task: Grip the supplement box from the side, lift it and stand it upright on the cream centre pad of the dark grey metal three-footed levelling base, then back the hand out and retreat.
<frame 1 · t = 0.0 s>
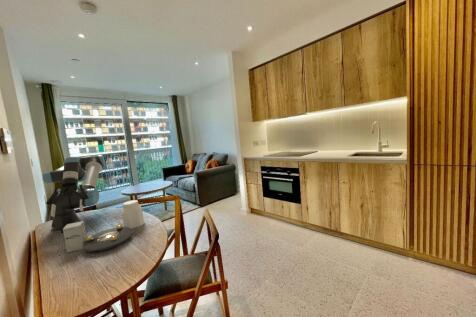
hand: (67, 213, 120), 15 cm above the table, tool tilted 35°, fingers open, 13 cm apart
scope: (71, 237, 124), on the table
jar: (134, 225, 132), on the table
levelling base: (109, 242, 112), on the table
supplement box: (78, 248, 110), on the table
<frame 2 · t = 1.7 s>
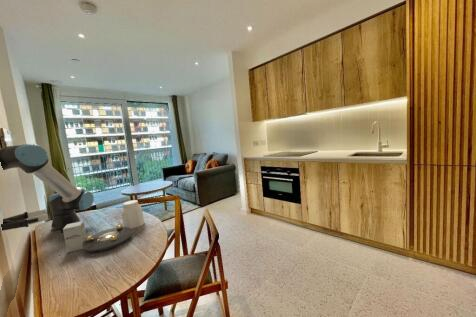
hand: (47, 214, 101), 21 cm above the table, tool horizontal, fingers open, 13 cm apart
nothing on the table moved.
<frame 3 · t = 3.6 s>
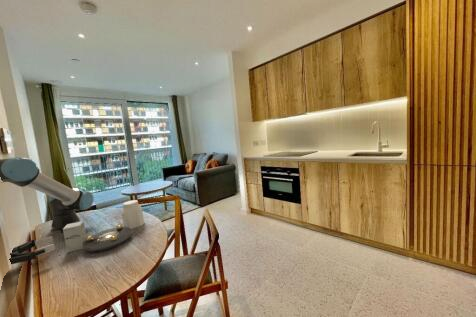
hand: (53, 242, 103), 7 cm above the table, tool horizontal, fingers open, 13 cm apart
nothing on the table moved.
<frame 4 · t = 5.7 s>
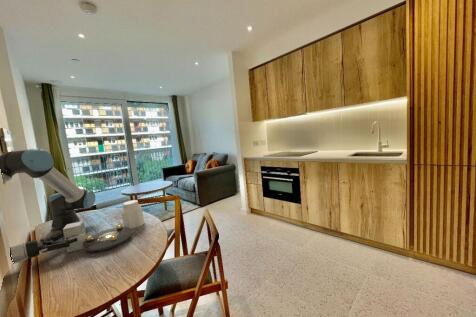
hand: (83, 232, 111), 7 cm above the table, tool horizontal, fingers open, 13 cm apart
nothing on the table moved.
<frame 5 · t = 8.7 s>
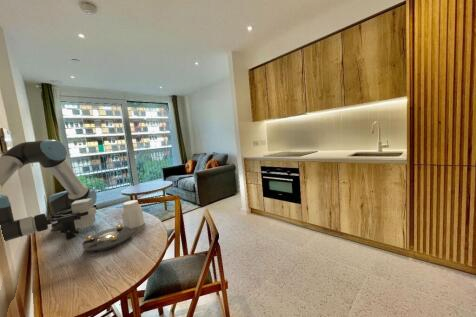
hand: (94, 208, 110), 19 cm above the table, tool horizontal, fingers closed on supplement box, 9 cm apart
supplement box: (86, 224, 108), point 12 cm above the table, touching gripper
everything else where it was.
when the fingers open (12 cm above the table, at t = 11.0 s): supplement box drops 1 cm, resting on levelling base.
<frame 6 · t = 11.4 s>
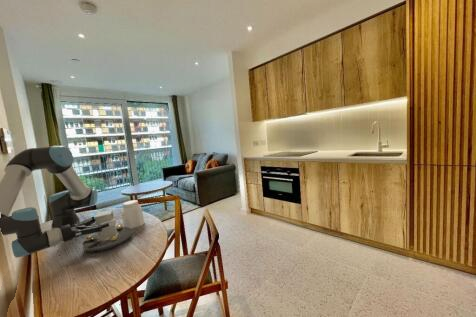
hand: (112, 218, 112), 12 cm above the table, tool horizontal, fingers open, 13 cm apart
supplement box: (108, 236, 111), point 3 cm above the table, touching levelling base
everything else where it was.
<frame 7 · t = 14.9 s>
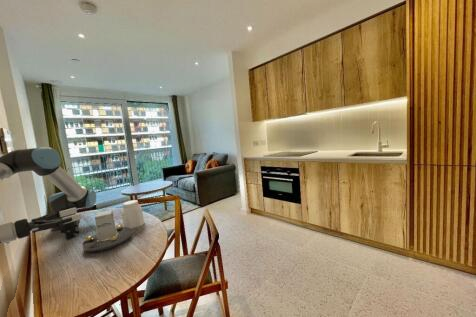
hand: (78, 212, 102), 20 cm above the table, tool horizontal, fingers open, 13 cm apart
nothing on the table moved.
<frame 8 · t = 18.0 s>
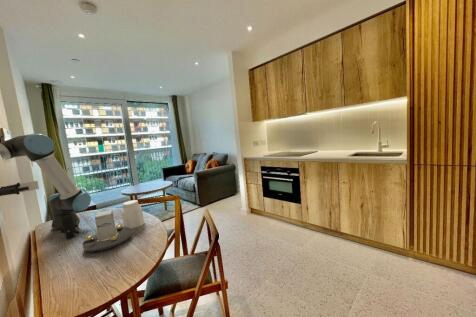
hand: (38, 184, 106), 35 cm above the table, tool horizontal, fingers open, 13 cm apart
nothing on the table moved.
at the end: supplement box inside the target area on the levelling base (0.1 cm from its centre), point 3.5 cm above the levelling base's base; supplement box tilted 0°; the gripper is holding nothing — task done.
